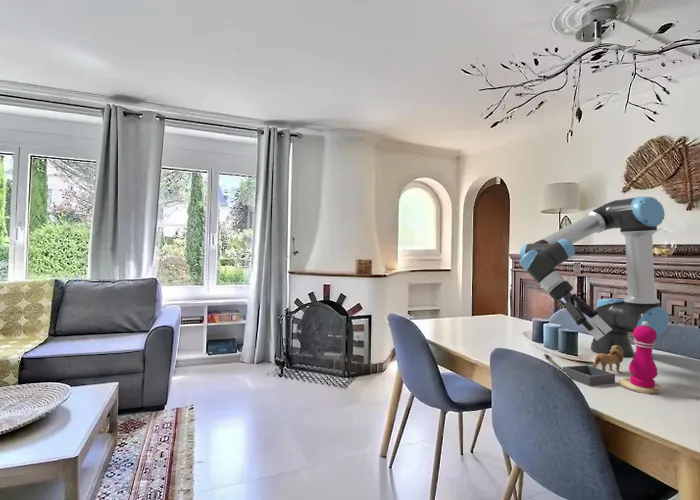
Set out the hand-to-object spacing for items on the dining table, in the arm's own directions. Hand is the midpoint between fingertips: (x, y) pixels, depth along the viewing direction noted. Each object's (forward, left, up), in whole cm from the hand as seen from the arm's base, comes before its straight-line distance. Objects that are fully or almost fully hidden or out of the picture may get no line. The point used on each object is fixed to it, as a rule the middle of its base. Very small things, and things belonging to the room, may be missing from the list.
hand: (605, 334), depth 131 cm
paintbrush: (+1, -19, -16) cm, 25 cm away
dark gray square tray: (+5, -2, -15) cm, 16 cm away
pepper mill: (-5, +9, -14) cm, 17 cm away
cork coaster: (-5, +9, -15) cm, 18 cm away
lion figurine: (-10, -7, -15) cm, 20 cm away
